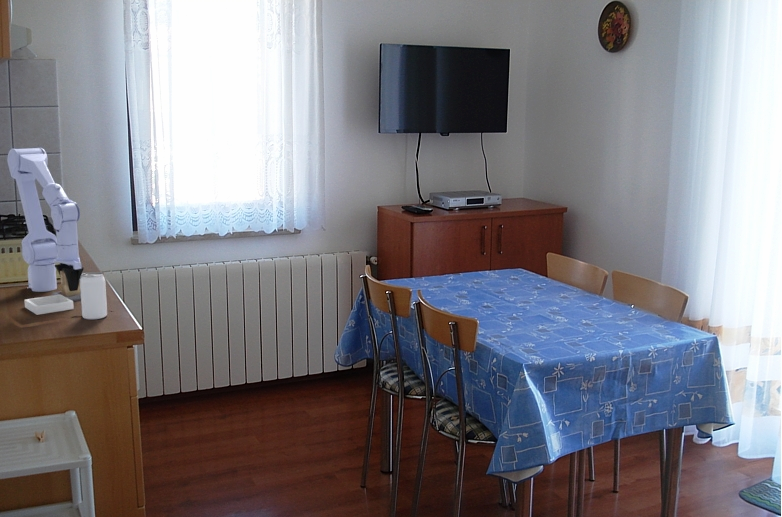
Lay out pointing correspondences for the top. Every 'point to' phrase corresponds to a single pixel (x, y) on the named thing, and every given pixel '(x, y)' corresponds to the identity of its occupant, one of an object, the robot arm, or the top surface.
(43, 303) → the bin tray
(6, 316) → the top surface
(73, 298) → the stud socket
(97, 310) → the can
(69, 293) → the peg
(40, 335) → the top surface
